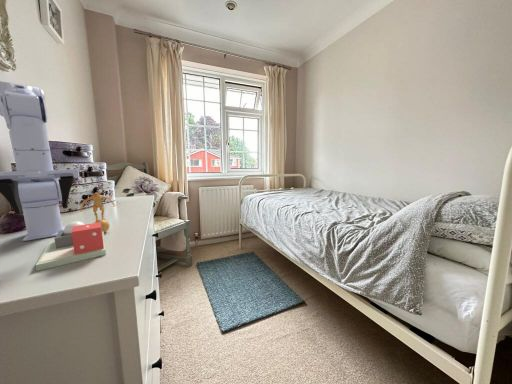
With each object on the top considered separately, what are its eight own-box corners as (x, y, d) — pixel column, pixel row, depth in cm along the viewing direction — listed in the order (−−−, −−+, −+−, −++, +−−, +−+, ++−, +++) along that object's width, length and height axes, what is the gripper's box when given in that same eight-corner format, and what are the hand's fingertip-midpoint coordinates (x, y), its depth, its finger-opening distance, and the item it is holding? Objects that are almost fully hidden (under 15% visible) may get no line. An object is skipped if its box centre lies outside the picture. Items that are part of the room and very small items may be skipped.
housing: (60, 239, 53) (59, 230, 53) (94, 233, 57) (93, 225, 57) (56, 248, 48) (54, 238, 47) (94, 241, 52) (93, 231, 51)
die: (76, 246, 48) (73, 225, 48) (103, 241, 51) (100, 221, 50) (74, 254, 44) (71, 231, 43) (103, 248, 47) (100, 226, 46)
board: (50, 245, 53) (50, 240, 52) (104, 235, 59) (103, 230, 59) (36, 270, 40) (35, 264, 40) (105, 254, 47) (105, 249, 47)
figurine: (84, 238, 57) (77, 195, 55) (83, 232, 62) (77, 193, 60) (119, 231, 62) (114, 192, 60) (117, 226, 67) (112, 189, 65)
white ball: (66, 238, 53) (63, 221, 52) (88, 234, 55) (85, 218, 55) (64, 243, 49) (61, 225, 49) (87, 238, 52) (85, 222, 51)
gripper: (-29, 149, 38) (-13, 220, 41) (73, 150, 47) (82, 208, 49) (-13, 151, 44) (0, 212, 46) (76, 151, 53) (84, 203, 55)
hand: (43, 210), depth 48 cm, fingers open, 7 cm apart
